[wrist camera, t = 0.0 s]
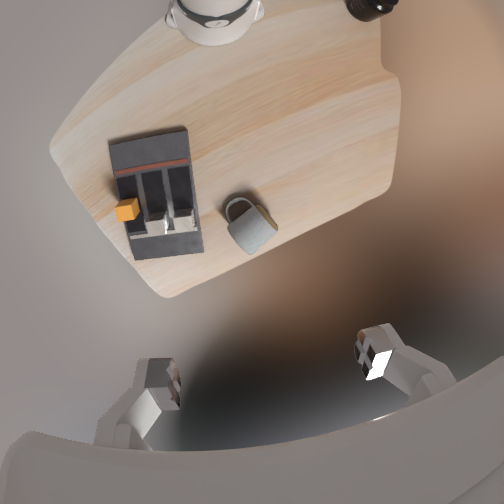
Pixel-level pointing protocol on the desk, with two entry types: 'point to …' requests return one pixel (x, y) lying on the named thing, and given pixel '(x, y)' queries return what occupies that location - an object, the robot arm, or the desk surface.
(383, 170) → the desk surface
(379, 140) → the desk surface
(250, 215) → the ceramic mug
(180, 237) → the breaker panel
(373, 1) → the supplement bottle
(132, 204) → the toggle
